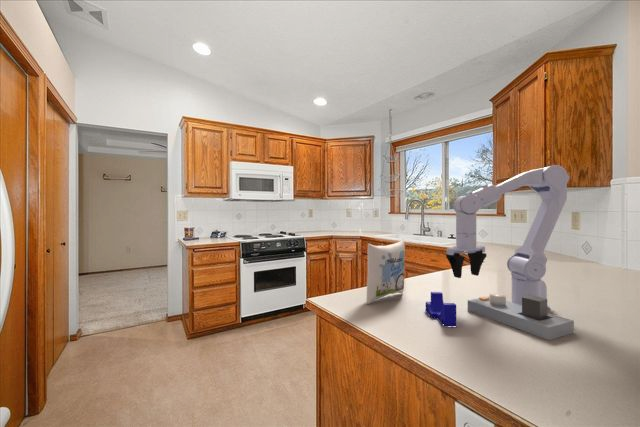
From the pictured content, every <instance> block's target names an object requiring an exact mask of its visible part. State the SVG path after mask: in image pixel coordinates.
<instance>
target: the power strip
mask: <svg viewBox="0 0 640 427" xmlns="http://www.w3.org/2000/svg"><path fill="white" fill-rule="evenodd" d="M469 310H470V312H472V313H474V312H475V313H474V314H477V313H478V315H480V314H481V315H480V316H482V315H483V316H482V317H485V316H486V317H485V318H488V319H490V320H493V319H494V320H493V321H496V322H498V323H501V322H502V323H501V324H504V325H506V326H510V327H512V328H515V329H518V330H520V331H523V332H526V333H528V334H531V335H534V336H536V337H538V338H539V337H540V338H542V339H543V340H544V339H545V340H547V341H550V340H551V341H552V340H554V339H558V338H560V337H563V336H568V335H571V334H574V333H575V321H574V319H570V318H566V317H563V316H559V315H556V314H553V313H549V312H547V319H546V320H542V321H538V320H535V319H532V318H529V317H526V316H523V315H522V305H519V304H515V303H512V302H510V301H508V300H507V296H506V295H505V294H503V293H502V294H501V293H495V292H494V293H493V292H492V293H489V296H481V297H477V298H473V299H467V311H469Z"/></svg>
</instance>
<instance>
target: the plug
mask: <svg viewBox="0 0 640 427" xmlns="http://www.w3.org/2000/svg"><path fill="white" fill-rule="evenodd" d="M547 305H548V298H547V299H545V298H541V297H536V296H532V295H528V296H525V297H522V315H523V316H526V317H529V318H532V319H535V320H538V321H542V320H546V319H547V313H548V308H547Z"/></svg>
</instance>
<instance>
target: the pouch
mask: <svg viewBox="0 0 640 427" xmlns="http://www.w3.org/2000/svg"><path fill="white" fill-rule="evenodd" d="M405 249H406V245H405V239H402V240H400V241H397V242H396V243H391V244H388V245H373V244H371V243H367V256H366V257H367V262H366V263H367V276H366V278H367V279H366V305H370V304H371V303H373V302H375V301H376V300H378V299H381V298H384V297H386V296H389V295H390V294H391V295H392V294H397V293H398V294H403V293H404V291H405V261H406V260H405V259H406V258H405V257H406V255H405V252H406V250H405Z"/></svg>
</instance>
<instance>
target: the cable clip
mask: <svg viewBox="0 0 640 427" xmlns="http://www.w3.org/2000/svg"><path fill="white" fill-rule="evenodd" d="M443 296H444V295H443V292H442V291H430V301H425V311H427V312H426V313H427V314H428V316H429V315H430V316H429V317H430V318H431V319H437V318H438V319H439V320H440V321H439V320H438V319H437V320H438V321H439V322H440V324H441V325H442V324H444V326H456V327H457V304H456V303H454V302H444V297H443ZM444 326H443V327H444Z"/></svg>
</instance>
